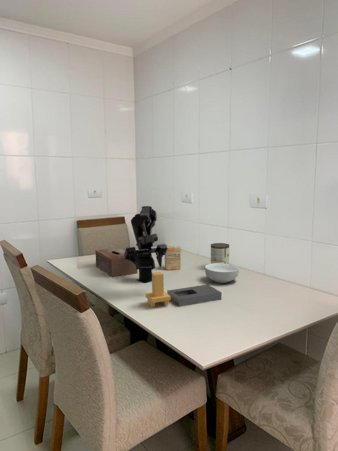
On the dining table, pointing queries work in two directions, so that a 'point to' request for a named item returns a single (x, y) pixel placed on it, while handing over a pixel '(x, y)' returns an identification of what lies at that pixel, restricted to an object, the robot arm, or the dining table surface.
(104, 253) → the tissue box cover
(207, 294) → the grey metal plate
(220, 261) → the coffee can
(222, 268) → the cereal bowl
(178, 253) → the supplement box
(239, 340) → the dining table surface
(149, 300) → the orange post
